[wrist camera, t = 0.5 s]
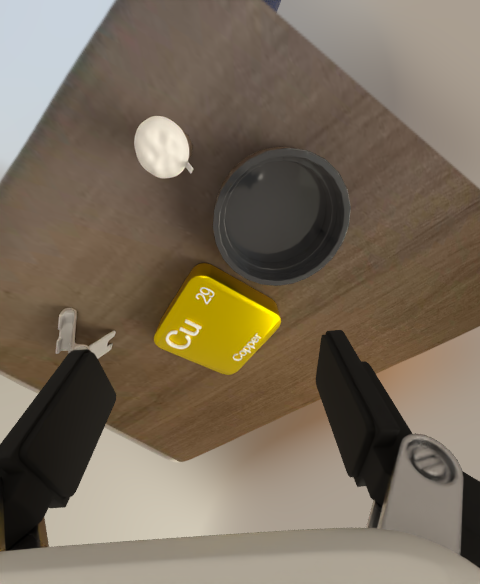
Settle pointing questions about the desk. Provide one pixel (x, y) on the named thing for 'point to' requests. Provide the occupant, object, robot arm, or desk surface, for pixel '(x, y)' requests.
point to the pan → (281, 215)
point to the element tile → (217, 320)
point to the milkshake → (163, 147)
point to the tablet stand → (68, 336)
